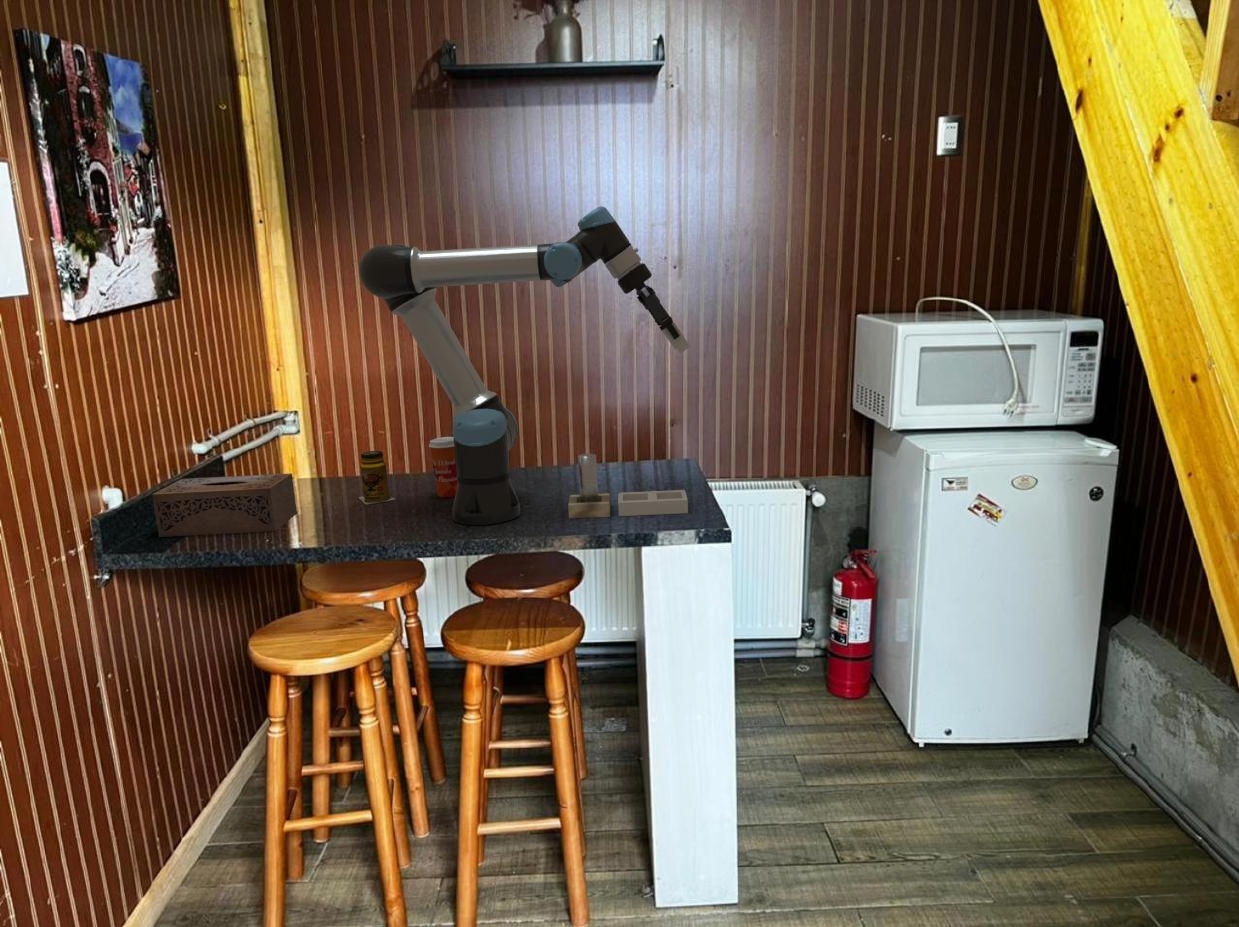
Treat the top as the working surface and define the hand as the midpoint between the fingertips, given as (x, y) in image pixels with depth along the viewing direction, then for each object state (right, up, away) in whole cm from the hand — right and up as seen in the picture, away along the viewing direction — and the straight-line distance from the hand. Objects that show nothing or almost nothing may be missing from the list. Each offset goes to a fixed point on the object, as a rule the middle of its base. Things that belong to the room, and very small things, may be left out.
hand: (682, 348), depth 208 cm
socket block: (-21, -37, -5) cm, 43 cm away
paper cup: (-57, -34, +17) cm, 69 cm away
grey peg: (-21, -37, -5) cm, 43 cm away
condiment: (-75, -36, +16) cm, 84 cm away
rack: (-7, -37, -5) cm, 38 cm away
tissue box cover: (-104, -41, -1) cm, 111 cm away
